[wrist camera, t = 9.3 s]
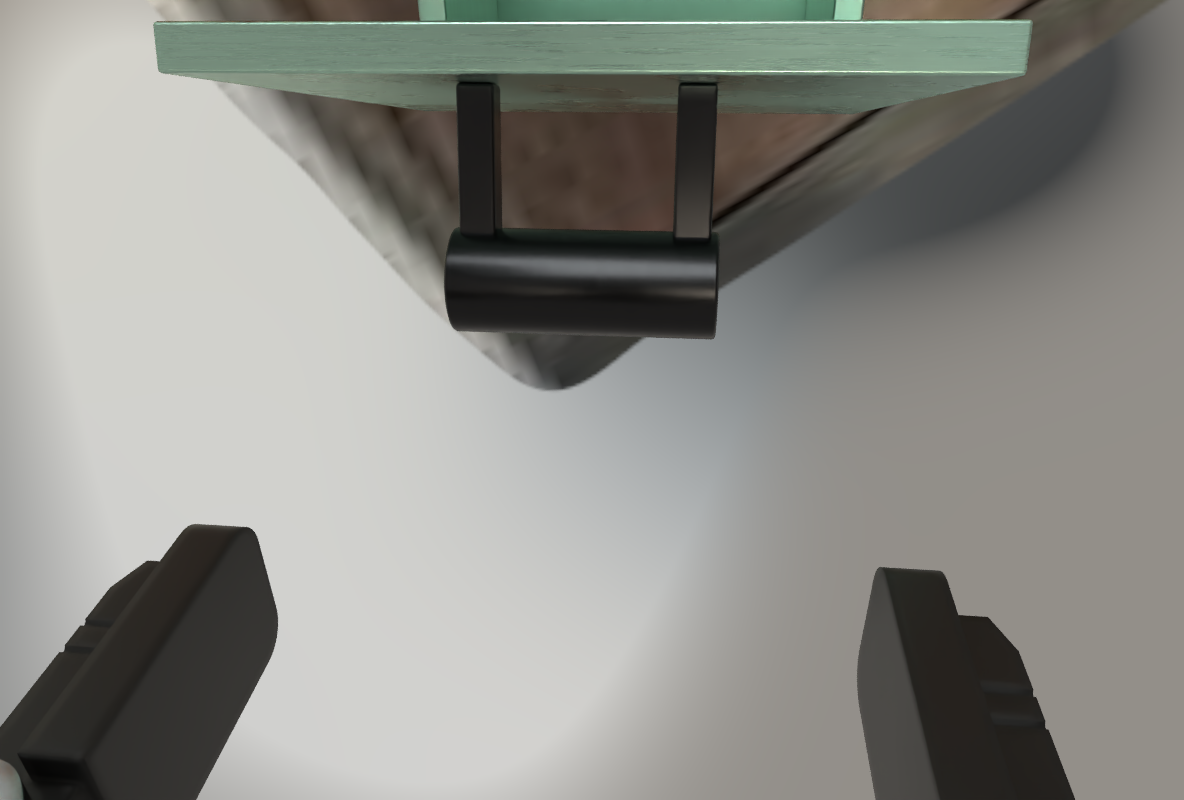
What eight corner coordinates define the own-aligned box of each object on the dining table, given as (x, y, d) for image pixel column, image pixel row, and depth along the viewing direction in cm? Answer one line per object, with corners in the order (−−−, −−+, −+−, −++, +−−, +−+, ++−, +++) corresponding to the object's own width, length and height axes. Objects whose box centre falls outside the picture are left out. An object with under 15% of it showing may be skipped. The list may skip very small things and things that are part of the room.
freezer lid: (151, 21, 15) (186, 345, 16) (1034, 18, 14) (988, 374, 15) (423, 85, 30) (429, 251, 31) (856, 87, 28) (841, 261, 30)
